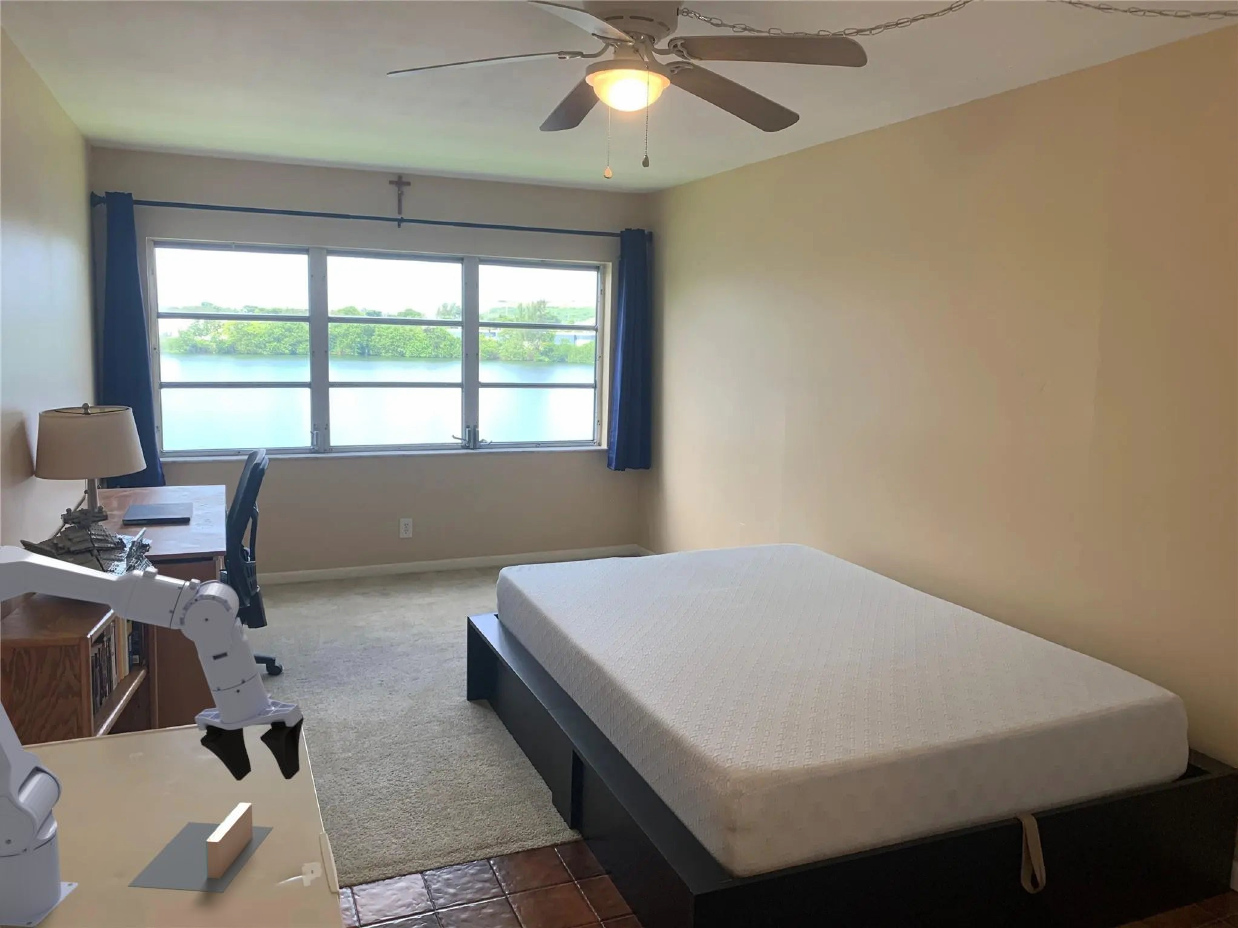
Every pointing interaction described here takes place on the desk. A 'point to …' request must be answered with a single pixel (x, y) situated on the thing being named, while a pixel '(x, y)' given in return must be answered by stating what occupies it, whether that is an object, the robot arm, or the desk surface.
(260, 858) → the desk surface
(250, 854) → the mat
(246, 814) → the tan wooden block
